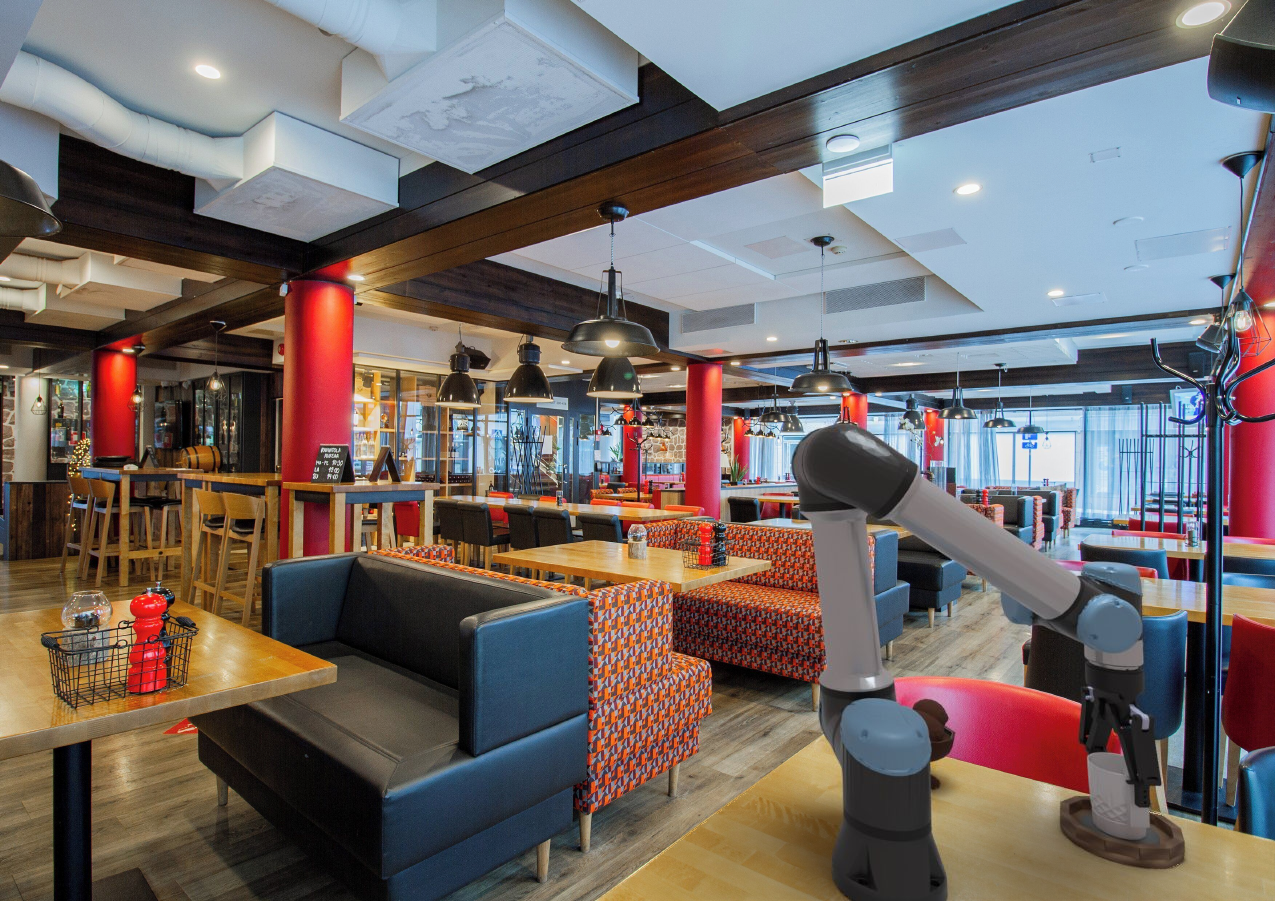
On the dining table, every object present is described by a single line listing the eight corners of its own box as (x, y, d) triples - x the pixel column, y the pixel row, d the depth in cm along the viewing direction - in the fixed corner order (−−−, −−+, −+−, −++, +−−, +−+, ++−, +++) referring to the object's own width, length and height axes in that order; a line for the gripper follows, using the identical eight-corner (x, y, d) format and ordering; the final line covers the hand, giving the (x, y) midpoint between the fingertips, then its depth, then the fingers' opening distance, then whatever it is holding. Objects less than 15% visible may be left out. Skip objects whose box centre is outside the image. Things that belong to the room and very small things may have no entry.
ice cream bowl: (907, 763, 130) (906, 686, 131) (967, 783, 122) (965, 700, 123) (881, 781, 123) (879, 699, 124) (942, 803, 115) (940, 715, 115)
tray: (1099, 867, 96) (1098, 847, 96) (1040, 811, 112) (1039, 794, 112) (1212, 869, 95) (1212, 849, 95) (1136, 813, 111) (1136, 796, 111)
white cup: (1162, 845, 99) (1161, 777, 99) (1102, 840, 101) (1101, 773, 100) (1134, 816, 107) (1133, 753, 107) (1079, 812, 108) (1078, 750, 108)
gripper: (1191, 684, 94) (1196, 849, 93) (1096, 645, 115) (1100, 779, 114) (1135, 684, 94) (1140, 848, 93) (1050, 645, 115) (1054, 778, 114)
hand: (1118, 810), depth 104 cm, fingers open, 8 cm apart
